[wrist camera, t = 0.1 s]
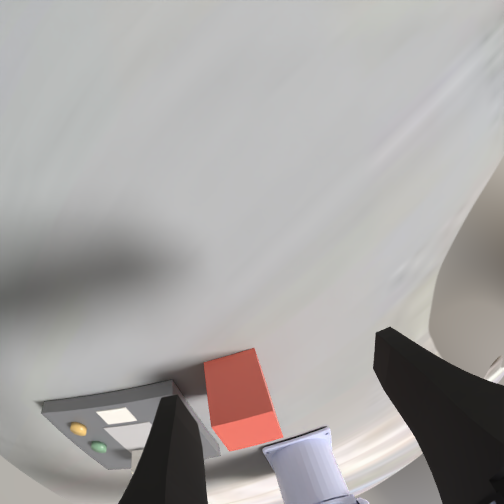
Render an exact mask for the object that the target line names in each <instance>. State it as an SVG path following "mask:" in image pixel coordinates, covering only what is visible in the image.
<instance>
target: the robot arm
mask: <svg viewBox="0 0 504 504" xmlns="http://www.w3.org/2000/svg"><path fill="white" fill-rule="evenodd" d="M373 369H374V371H375V373H376V375H377V377H378V379H379V381H380V383H381V385H382V387H383V389H384V391H385V392H386V394H387V395H388V397H389V398H390V400H391V401H392V403H393V404H394V406H395V407H396V409H397V410H398V412H399V413H400V415H401V416H402V418H403V419H404V421H405V422H406V424H407V425H408V427H409V428H410V430H411V431H412V433H413V435H414V436H415V438H416V440H417V442H418V444H419V446H420V448H421V450H422V452H423V454H424V456H425V458H426V460H427V463H428V465H429V467H430V470H431V472H432V475H433V477H434V480H435V482H436V485H437V488H438V490H439V493H440V497H441V500H442V503H443V504H504V386H503V385H500V384H496V383H493V382H490V381H487V380H485V379H482V378H480V377H478V376H475V375H473V374H470V373H468V372H466V371H464V370H462V369H460V368H458V367H456V366H454V365H452V364H450V363H448V362H447V361H445V360H443V359H441V358H440V357H438V356H436V355H434V354H433V353H431V352H429V351H428V350H426V349H424V348H423V347H421V346H420V345H418V344H416V343H415V342H413V341H412V340H410V339H409V338H407V337H406V336H404V335H402V334H401V333H399V332H398V331H396V330H395V329H393V328H391V327H388V328H386V329H384V330H381V331H379V332H376V338H375V352H374V364H373ZM262 451H263V453H264V455H265V457H266V458H267V460H268V462H269V464H270V465H271V467H272V469H273V470H274V472H275V474H276V477H277V481H278V484H279V488H280V491H281V494H282V498H283V501H284V504H370V503H369V502H368V501H367V500H365V499H362V498H360V497H359V498H357V499H355V497H354V495H353V494H351V495H350V492H349V490H348V488H347V485H346V483H345V481H344V478H343V476H342V474H341V471H340V469H339V467H338V464H337V462H336V460H335V457H334V455H333V453H332V442H331V430H330V428H329V427H326V428H323V429H321V430H318V431H315V432H312V433H309V434H306V435H303V436H300V437H297V438H294V439H291V440H288V441H285V442H281V443H278V444H275V445H271V446H267V447H264V448H263V449H262ZM118 504H208V501H207V492H206V481H205V469H204V457H203V447H202V442H201V437H200V432H199V427H198V423H197V422H196V420H195V419H194V417H193V416H192V415H191V413H190V412H189V410H188V409H187V407H186V406H185V405H184V403H183V402H182V400H181V399H180V397H179V396H178V394H177V395H172V396H167V397H162V398H161V399H160V402H159V405H158V408H157V411H156V415H155V418H154V421H153V424H152V427H151V430H150V433H149V436H148V439H147V441H146V444H145V447H144V450H143V452H142V455H141V457H140V460H139V462H138V464H137V467H136V469H135V472H134V474H133V476H132V478H131V480H130V483H129V485H128V487H127V489H126V490H125V492H124V494H123V496H122V498H121V500H120V501H119V503H118Z"/></svg>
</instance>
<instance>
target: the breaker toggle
mask: <svg viewBox="0 0 504 504" xmlns="http://www.w3.org/2000/svg"><path fill="white" fill-rule="evenodd" d="M143 450H144V449H143ZM143 450H134V451H132V463H131V474H134V472H135V469H136V467H137V464H138V462H139V460H140V457H141V455H142V452H143Z"/></svg>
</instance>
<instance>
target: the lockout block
mask: <svg viewBox="0 0 504 504" xmlns="http://www.w3.org/2000/svg"><path fill="white" fill-rule="evenodd" d="M204 371H205V380H206V389H207V397H208V405H209V413H210V420H211V427H212V428H213V430H214V431H215V433H216V434H217V435H218V437H219V438H220V439H221V441H222V442H223V443H224V445H225V446H226V447H227V449H228V450H229V451H234V450H238V449H242V448H246V447H250V446H254V445H258V444H262V443H265V442H269V441H272V440H276V439H279V438H283V435H282V432H281V428H280V425H279V422H278V419H277V416H276V413H275V409H274V406H273V403H272V400H271V397H270V393H269V390H268V387H267V384H266V381H265V378H264V375H263V372H262V369H261V366H260V363H259V360H258V357H257V354H256V352H255V349H254V348H252V349H249V350H246V351H242V352H239V353H236V354H232V355H229V356H225V357H222V358H218V359H214V360H211V361H207V362H204Z"/></svg>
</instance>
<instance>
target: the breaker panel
mask: <svg viewBox="0 0 504 504" xmlns="http://www.w3.org/2000/svg"><path fill="white" fill-rule="evenodd" d="M177 394H178V396H179V397H180V399H181V400H182V402H183V403H184V405H185V406H186V407H187V409H188V410H189V412H190V413H191V415H192V416H193V417H194V419H195V420H196V422H197V423H198V427H199V432H200V437H201V442H202V447H203V457H204V459H207V458H213V457H218V456H221V455H220V449H219V444H218V443H217V442H216V440H215V439H214V438H213V436H212V435H211V434H210V432H209V431H208V430H207V428H206V427H205V426H204V424H203V423H202V422H201V420H200V419H199V418H198V416H197V415H196V413H195V412H194V411H193V409H192V408H191V406H190V405H189V403H188V402H187V401H186V399H185V398H184V396H183V395H182V393H181V392H180V390H179V389H178V387H177V386H176V384H175V383H174V381H173V380H169V381H165V382H160V383H155V384H151V385H146V386H141V387H136V388H131V389H126V390H120V391H115V392H109V393H103V394H97V395H90V396H84V397H77V398H69V399H61V400H53V401H45V402H44V405H43V408H42V412H41V414H42V415H43V416H45V417H46V418H47V419H48V420H49V421H50V422H51V423H52V424H53V425H54V426H55V427H56V428H57V429H58V430H59V431H61V432H62V433H63V434H64V435H65V436H66V437H67V438H68V439H70V440H71V441H72V442H73V443H74V444H76V445H77V446H78V447H79V448H80V449H82V450H83V451H84V452H85V453H87V454H88V455H89V456H90V457H92V458H93V459H94V460H96V461H97V462H98V463H100V464H101V465H102V466H104V467H105V468H106V469H108V470H113V469H130V468H131V463H132V451H134V450H143V449H144V447H145V444H146V441H147V439H148V436H149V433H150V430H151V427H152V424H153V421H154V418H155V415H156V411H157V408H158V405H159V402H160V399H161V398H162V397H167V396H172V395H177Z"/></svg>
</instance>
